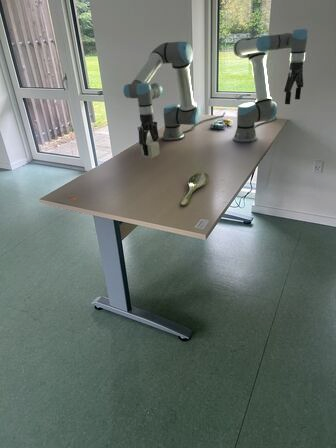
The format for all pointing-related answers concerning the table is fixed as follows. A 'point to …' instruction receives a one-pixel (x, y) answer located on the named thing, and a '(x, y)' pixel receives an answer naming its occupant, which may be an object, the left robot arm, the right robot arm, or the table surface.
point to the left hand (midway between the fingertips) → (150, 153)
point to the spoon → (195, 184)
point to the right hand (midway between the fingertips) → (292, 101)
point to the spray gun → (221, 123)
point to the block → (151, 148)
